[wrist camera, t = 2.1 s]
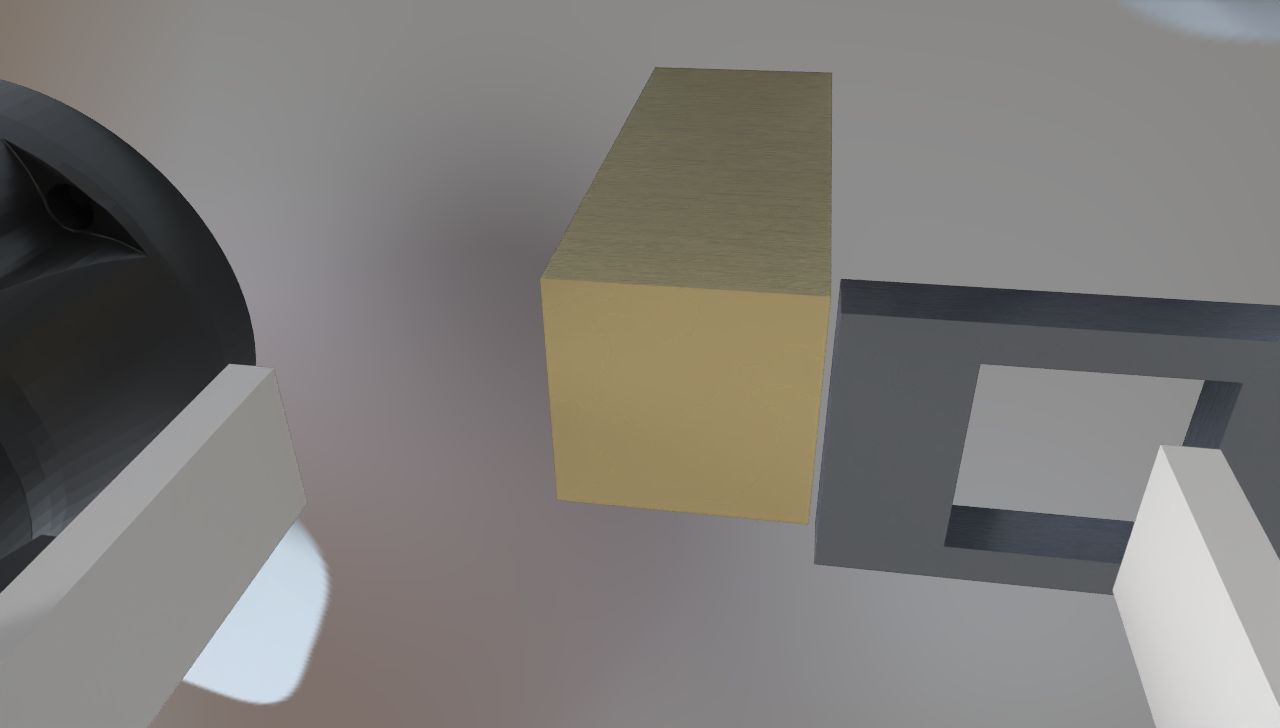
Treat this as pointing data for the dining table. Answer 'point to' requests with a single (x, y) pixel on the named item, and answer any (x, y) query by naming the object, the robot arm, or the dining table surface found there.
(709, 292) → the brass block
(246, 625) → the dining table surface
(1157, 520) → the robot arm
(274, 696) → the dining table surface
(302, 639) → the dining table surface
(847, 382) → the panel
